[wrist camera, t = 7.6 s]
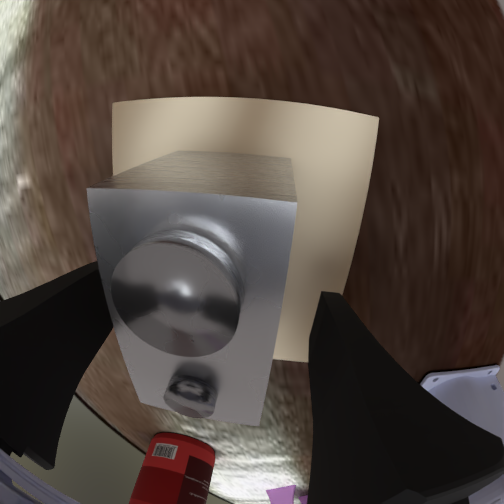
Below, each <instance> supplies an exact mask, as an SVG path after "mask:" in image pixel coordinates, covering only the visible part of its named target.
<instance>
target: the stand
mask: <svg viewBox="0 0 504 504" xmlns="http://www.w3.org/2000/svg"><path fill="white" fill-rule="evenodd" d="M378 122H379V118H378V117H374V116H370V115H365V114H361V113H356V112H351V111H346V110H341V109H335V108H330V107H324V106H317V105H311V104H303V103H296V102H287V101H278V100H266V99H253V98H234V97H177V98H158V99H144V100H134V101H125V102H116V103H113V108H112V158H113V176H114V175H117V174H119V173H121V172H124V171H126V170H128V169H131V168H133V167H136V166H138V165H141V164H143V163H146V162H148V161H151V160H154V159H156V158H159V157H162V156H164V155H167V154H170V153H173V152H175V151H208V152H227V153H241V154H254V155H265V156H275V157H284V158H291V163H292V169H293V175H294V182H295V188H296V195H297V202H298V203H297V211H296V218H295V225H294V232H293V239H292V246H291V253H290V260H289V266H288V273H287V279H286V285H285V291H284V297H283V303H282V309H281V315H280V321H279V327H278V332H277V338H276V343H275V349H274V354H273V359H278V360H288V361H299V362H308V352H309V336H310V332H311V328H312V325H313V321H314V317H315V314H316V310H317V306H318V302H319V298H320V294H321V291H326V292H336V293H340V294H341V295H342V294H343V291H344V287H345V284H346V280H347V277H348V273H349V269H350V266H351V262H352V258H353V254H354V250H355V246H356V242H357V238H358V234H359V229H360V225H361V221H362V216H363V211H364V207H365V202H366V197H367V192H368V187H369V181H370V176H371V170H372V164H373V158H374V151H375V145H376V138H377V130H378Z"/></svg>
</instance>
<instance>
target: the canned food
mask: <svg viewBox="0 0 504 504" xmlns="http://www.w3.org/2000/svg"><path fill="white" fill-rule="evenodd" d="M214 463H215V453H214V450H213V449H212V448H211V447H210V446H209V445H207V444H205V443H204V442H202V441H199V440H197V439H194V438H192V437H188V436H185V435H181V434H176V433H159V434H156V435H155V436H154V438H153V439H152V440H151V443H150V445H149V448H148V451H147V453H146V456H145V459H144V462H143V465H142V467H141V470H140V473H139V476H138V478H137V481H136V484H135V487H134V490H133V493H132V495H131V498H130V502H129V504H206V500H207V496H208V491H209V486H210V482H211V477H212V472H213V467H214Z"/></svg>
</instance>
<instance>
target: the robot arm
mask: <svg viewBox="0 0 504 504" xmlns="http://www.w3.org/2000/svg"><path fill="white" fill-rule="evenodd" d="M112 328H113V323H112V319H111V316H110V312H109V309H108V305H107V301H106V297H105V293H104V289H103V285H102V280H101V276H100V271H99V266H98V262H97V261H96V262H93V263H90V264H87V265H85V266H82V267H80V268H78V269H76V270H73V271H71V272H69V273H67V274H65V275H63V276H60V277H58V278H56V279H54V280H52V281H50V282H47V283H45V284H43V285H41V286H38V287H36V288H34V289H32V290H30V291H27V292H25V293H22V294H20V295H17V296H15V297H12V298H9V299H6V300H4V301H1V302H0V504H42V503H41V502H39V501H38V500H36V499H34V498H33V497H31V496H29V495H28V494H26V493H25V492H23V491H21V490H20V489H18V488H17V487H15V486H14V485H13V484H12V480H13V481H15V482H16V483H17V484H18V485H20V486H21V487H22V488H24V489H25V490H26V491H28V492H29V493H30V494H32V495H33V496H35V497H36V498H37V499H39V500H40V501H42V502H43V503H45V504H81V503H79V502H77V501H75V500H73V499H72V498H70V497H68V496H66V495H65V494H63V493H61V492H59V491H58V490H56V489H55V488H53V487H51V486H50V485H48V484H47V483H45V482H44V481H42V480H41V479H39V478H38V477H36V476H35V475H33V474H32V473H31V472H29V471H28V470H27V469H25V468H24V467H23V466H21V465H20V464H18V463H17V462H16V461H15V460H14V459H12V458H11V457H10V454H11V452H14V453H15V454H16V455H18V456H19V457H22V455H23V454H24V455H25V456H27V457H28V458H29V459H31V460H32V461H34V462H35V463H37V464H38V465H40V466H41V467H43V468H44V469H46V470H50V469H53V468H54V466H55V458H56V452H57V447H58V441H59V437H60V433H61V430H62V426H63V423H64V419H65V417H66V413H67V411H68V408H69V405H70V402H71V400H72V398H73V395H74V393H75V391H76V388H77V386H78V384H79V382H80V380H81V378H82V376H83V374H84V373H85V371H86V369H87V368H88V366H89V365H90V363H91V361H92V360H93V358H94V357H95V355H96V354H97V352H98V350H99V349H100V347H101V346H102V344H103V343H104V341H105V340H106V338H107V337H108V335H109V333H110V332H111V330H112ZM308 367H309V378H310V389H311V400H312V413H313V449H312V463H311V473H310V483H309V491H308V498H307V504H504V391H503V389H502V387H501V385H500V383H499V381H498V379H497V377H496V374H497V372H498V371H499V369H500V367H499V365H494V366H488V367H481V368H474V369H466V370H458V371H448V372H437V373H430V374H428V375H426V376H425V378H424V379H423V381H422V382H421V383H420V384H419V383H418V382H416V381H415V380H414V379H413V378H412V377H411V376H410V375H409V374H408V373H407V372H406V371H405V370H404V369H403V368H402V367H401V366H400V365H399V364H398V363H397V362H396V361H395V360H394V359H393V358H392V357H391V356H390V355H389V354H388V352H387V351H386V350H385V349H384V348H383V347H382V346H381V345H380V343H379V342H378V341H377V340H376V339H375V338H374V336H373V335H372V334H371V333H370V331H369V330H368V329H367V328H366V326H365V325H364V324H363V323H362V321H361V320H360V319H359V317H358V316H357V315H356V313H355V312H354V311H353V310H352V308H351V307H350V306H349V304H348V303H347V302H346V300H345V299H344V298H343V296H342V295H341V294H340V293H336V292H326V291H321V294H320V298H319V302H318V306H317V310H316V314H315V317H314V321H313V325H312V328H311V332H310V336H309V352H308Z"/></svg>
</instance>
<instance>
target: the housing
mask: <svg viewBox="0 0 504 504" xmlns="http://www.w3.org/2000/svg"><path fill="white" fill-rule="evenodd" d="M87 197H88V205H89V213H90V221H91V227H92V234H93V240H94V246H95V251H96V256H97V262H98V266H99V271H100V276H101V280H102V285H103V289H104V293H105V297H106V301H107V305H108V309H109V312H110V316H111V319H112V323H113V326H114V330H115V333H116V336H117V339H118V343H119V346H120V349H121V352H122V355H123V358H124V360H125V363H126V366H127V369H128V372H129V374H130V377H131V380H132V382H133V385H134V387H135V390H136V392H137V395H138V397H139V400H140V402H141V403H145V404H148V405H152V406H155V407H159V408H163V409H167V410H171V411H175V412H178V413H180V414H182V415H185V416H188V417H193V418H207V419H213V420H218V421H224V422H231V423H238V424H245V425H253V426H259V423H260V419H261V414H262V409H263V405H264V400H265V395H266V390H267V385H268V380H269V375H270V370H271V365H272V359H273V354H274V349H275V343H276V338H277V332H278V327H279V321H280V315H281V309H282V303H283V297H284V291H285V285H286V279H287V273H288V266H289V260H290V253H291V246H292V239H293V232H294V225H295V218H296V211H297V203H298V202H297V195H296V188H295V182H294V175H293V169H292V163H291V158H284V157H275V156H265V155H254V154H241V153H227V152H208V151H175V152H173V153H170V154H167V155H164V156H162V157H159V158H156V159H154V160H151V161H148V162H146V163H143V164H141V165H138V166H136V167H133V168H131V169H128V170H126V171H124V172H121V173H119V174H117V175H114V176H112V177H110V178H108V179H105V180H103V181H101V182H99V183H97V184H94V185H92V186H90V187H88V188H87Z"/></svg>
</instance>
